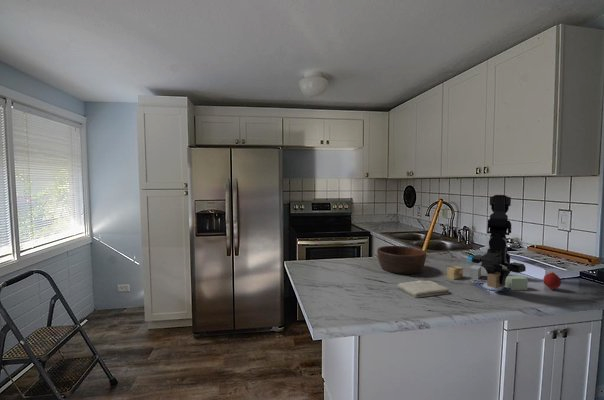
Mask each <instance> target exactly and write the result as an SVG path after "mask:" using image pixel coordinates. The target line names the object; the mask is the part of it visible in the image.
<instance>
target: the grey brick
mask: <svg viewBox="0 0 604 400" xmlns="http://www.w3.org/2000/svg"><path fill="white" fill-rule="evenodd" d="M481 276H482V266H481V265H475V264H473V265H472V266H470V268H469V279H473V280H479V278H480V277H481Z"/></svg>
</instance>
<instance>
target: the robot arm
mask: <svg viewBox="0 0 604 400" xmlns="http://www.w3.org/2000/svg"><path fill="white" fill-rule="evenodd" d="M511 199H512V197H510V196H508V195H506V194H493V196H489V206H491V207H490V209H491V211H492V213H491V214H489V215H490V216H489V219H487V227H486V234H488V235H489V234H490V235H489V240H488V247H489V248H487V250H486V251H487V252H486V253H484V254H483V255H481V254H477V255H472V257H471V263H474V264H480V263H481V264H480V266H481V268H482V267H483V268H484V270H486V273H487V275H488V274H491V273H495V272H499V273H501V274H500V285H502V284H503V283H504V281H505V282H506V280H505V279H506V278H507V276H510V275H509V274H510V273H511V272H512V273H515V274H516V273H517V274H520V273H523V272H526V269H527V268H526V265H525V264H524V263H520V262H516V261H514V262H511V255H510V254H509V253H510V252H509V253H508V248H507V236H510V234H511V233H512V222H511V220H508V217H509V215H507V213H508V211H509V209H510V207H511V206H512V204H511V203H512V202H511V201H512V200H511Z"/></svg>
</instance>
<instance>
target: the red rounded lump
mask: <svg viewBox="0 0 604 400" xmlns="http://www.w3.org/2000/svg"><path fill="white" fill-rule="evenodd" d="M542 281H543V284H544V285H545V286H546V287H547V288H548V289H549V290H551V291H552V290H555V289H558V288H560V287H561V285H562V281H561V278H560V277H559V276H558V275H557V274H556V273H555V272H554V271H549V273H547V274H546V275H544V277H543V279H542Z"/></svg>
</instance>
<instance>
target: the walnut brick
mask: <svg viewBox="0 0 604 400" xmlns="http://www.w3.org/2000/svg"><path fill="white" fill-rule="evenodd" d="M500 274H501V273H499V272H495V273H491V274H487V279H486V280H487V282H486V283H487V284H486V286H487V287H490V288H493V289H500V288H502V287H506V279H505V281H504V283H503V284H502V285H500Z"/></svg>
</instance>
